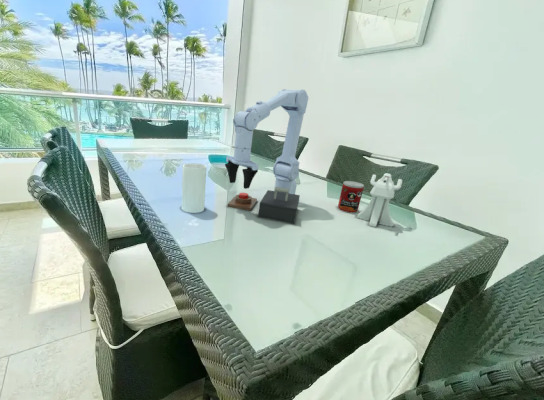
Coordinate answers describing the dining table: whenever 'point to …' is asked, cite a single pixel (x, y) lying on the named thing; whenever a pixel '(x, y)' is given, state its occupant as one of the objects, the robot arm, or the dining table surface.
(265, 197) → the lid
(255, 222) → the dining table surface
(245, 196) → the button
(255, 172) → the robot arm
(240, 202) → the control block
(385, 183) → the white mech figurine
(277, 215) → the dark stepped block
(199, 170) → the cup
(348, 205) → the canned food
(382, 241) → the dining table surface
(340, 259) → the dining table surface
